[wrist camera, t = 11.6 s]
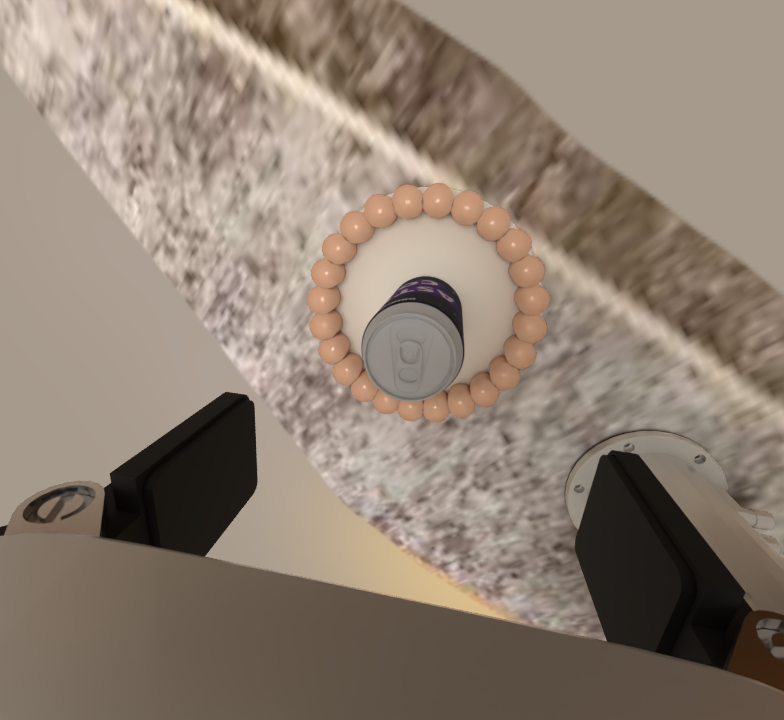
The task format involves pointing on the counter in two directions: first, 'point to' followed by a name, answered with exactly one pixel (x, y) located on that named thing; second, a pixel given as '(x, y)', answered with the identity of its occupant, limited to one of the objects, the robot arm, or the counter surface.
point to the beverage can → (415, 340)
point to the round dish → (440, 260)
